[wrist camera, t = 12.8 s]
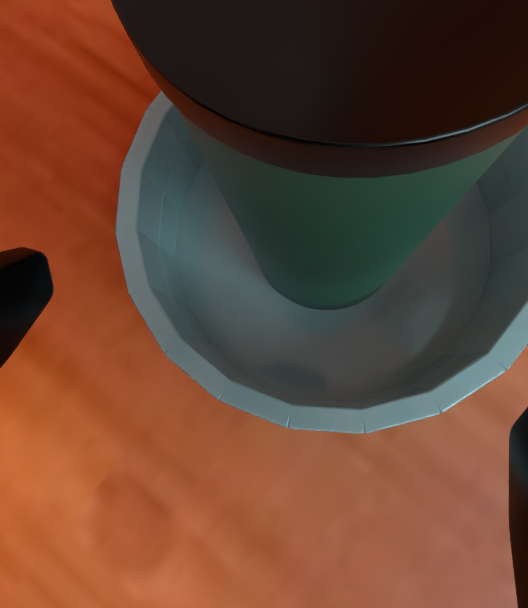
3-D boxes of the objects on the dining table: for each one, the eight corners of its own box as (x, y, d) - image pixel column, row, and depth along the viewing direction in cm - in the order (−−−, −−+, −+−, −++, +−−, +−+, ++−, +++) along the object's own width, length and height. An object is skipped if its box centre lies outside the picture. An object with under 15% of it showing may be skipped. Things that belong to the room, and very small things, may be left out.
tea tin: (424, 288, 16) (808, 26, 4) (275, 330, 16) (163, 226, 4) (376, 149, 17) (550, -429, 5) (236, 193, 17) (51, -231, 5)
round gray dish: (557, 360, 16) (655, 359, 11) (207, 452, 16) (169, 485, 12) (437, 47, 18) (479, -59, 13) (135, 143, 19) (79, 74, 14)
